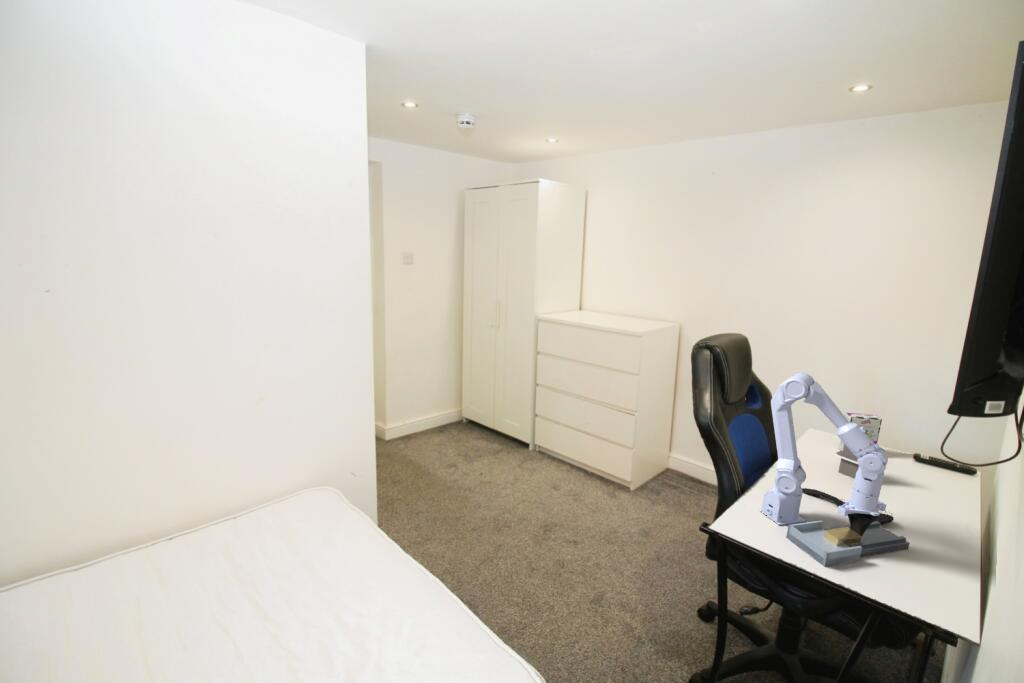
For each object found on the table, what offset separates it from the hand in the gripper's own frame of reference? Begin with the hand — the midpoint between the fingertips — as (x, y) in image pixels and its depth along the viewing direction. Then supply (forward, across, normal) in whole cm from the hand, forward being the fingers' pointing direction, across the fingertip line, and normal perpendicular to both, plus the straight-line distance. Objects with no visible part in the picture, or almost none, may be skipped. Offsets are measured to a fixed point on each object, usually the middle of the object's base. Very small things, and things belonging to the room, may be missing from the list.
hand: (856, 535), depth 126 cm
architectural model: (+3, +38, +31) cm, 50 cm away
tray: (+3, -12, 0) cm, 12 cm away
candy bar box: (+3, +59, +47) cm, 75 cm away
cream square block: (+1, -3, 0) cm, 3 cm away
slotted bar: (+3, +4, 0) cm, 4 cm away
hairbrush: (+3, +14, +16) cm, 21 cm away
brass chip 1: (+1, -7, 0) cm, 7 cm away
